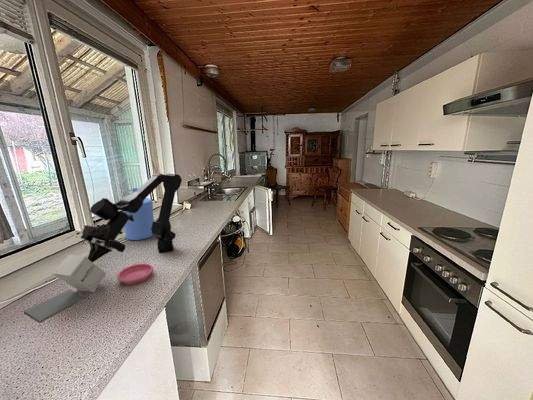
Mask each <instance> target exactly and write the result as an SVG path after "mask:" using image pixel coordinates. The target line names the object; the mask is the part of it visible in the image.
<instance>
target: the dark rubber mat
mask: <svg viewBox="0 0 533 400" xmlns="http://www.w3.org/2000/svg"><path fill="white" fill-rule="evenodd" d="M86 298H87V297H86V296H85V295H83V294H80V293H78V292H76V291H75V290H71V289H67V290H65V291H63V292H60V293H59V294H57V295H55V296H52V297H51V298H48V299H46V300H44V301H42V302H40V303H38V304H36V305H33V306H31V307H30V308H27V309H26V310H23V312H24V313H25V314H27V315H28V316H30V317H31V318H33V319H34V320H36V321H37V322H39V323H42V322H44V321H45V320H47V319H49V318H51V317H53V316H54V315H57V314H59V313H60V312H62V311H64V310H66V309H68V308H70V307H72V306H73V305H75V304H77V303H79V302H81V301H83V300H85V299H86Z"/></svg>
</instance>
